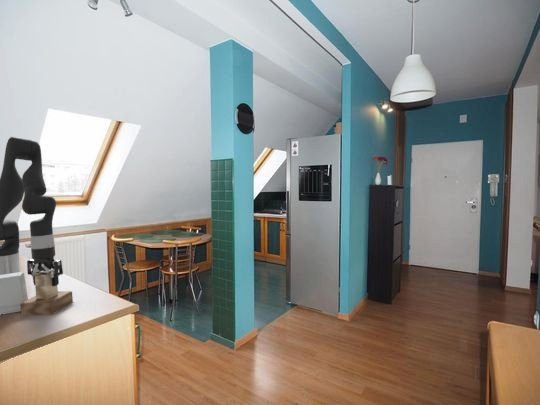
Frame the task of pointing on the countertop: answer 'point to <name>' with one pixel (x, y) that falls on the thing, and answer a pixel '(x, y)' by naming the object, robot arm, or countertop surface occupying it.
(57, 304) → the walnut box
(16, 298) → the skincare box
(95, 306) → the countertop surface
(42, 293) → the oak block
